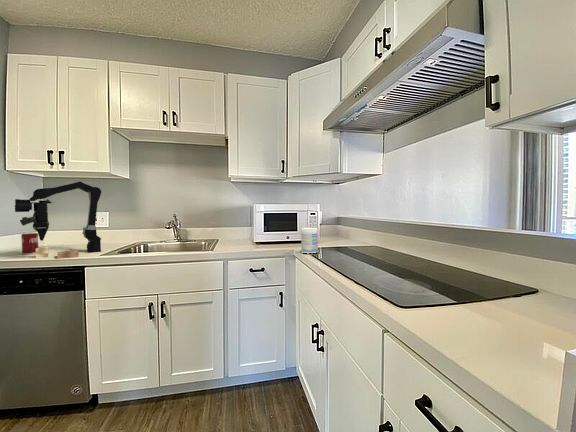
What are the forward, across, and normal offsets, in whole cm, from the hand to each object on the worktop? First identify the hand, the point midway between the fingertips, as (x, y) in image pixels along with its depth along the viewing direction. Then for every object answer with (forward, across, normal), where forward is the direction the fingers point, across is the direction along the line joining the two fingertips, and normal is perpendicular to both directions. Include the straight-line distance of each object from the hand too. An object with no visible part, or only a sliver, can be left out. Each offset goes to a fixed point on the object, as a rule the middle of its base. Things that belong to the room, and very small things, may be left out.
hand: (42, 239), depth 154 cm
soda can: (+10, -20, -6) cm, 23 cm away
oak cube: (+10, 0, 0) cm, 10 cm away
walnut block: (+10, +9, +11) cm, 17 cm away
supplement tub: (+10, +89, +120) cm, 150 cm away
